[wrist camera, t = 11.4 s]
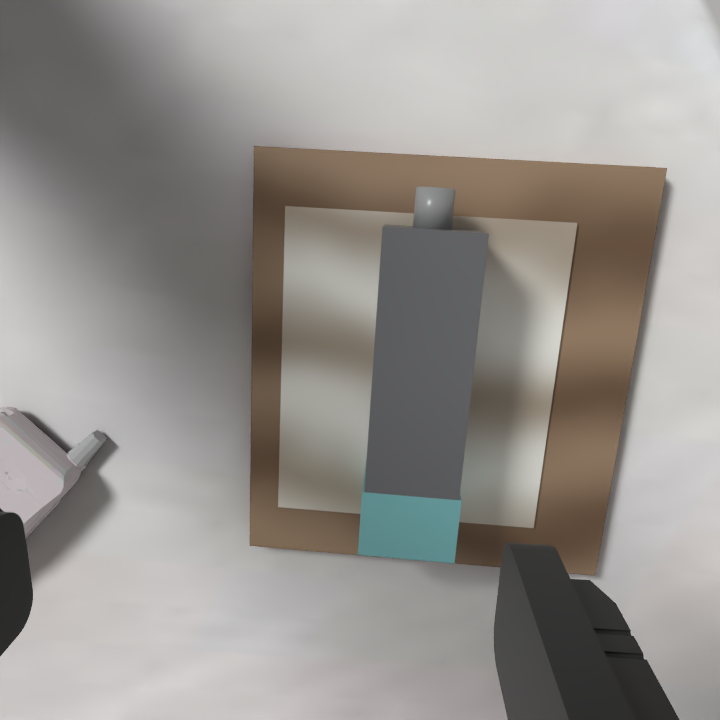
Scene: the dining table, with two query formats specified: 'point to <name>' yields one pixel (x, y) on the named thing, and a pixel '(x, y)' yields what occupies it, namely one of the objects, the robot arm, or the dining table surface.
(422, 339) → the marker
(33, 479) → the mobile phone
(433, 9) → the dining table surface
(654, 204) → the writing board
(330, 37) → the dining table surface
